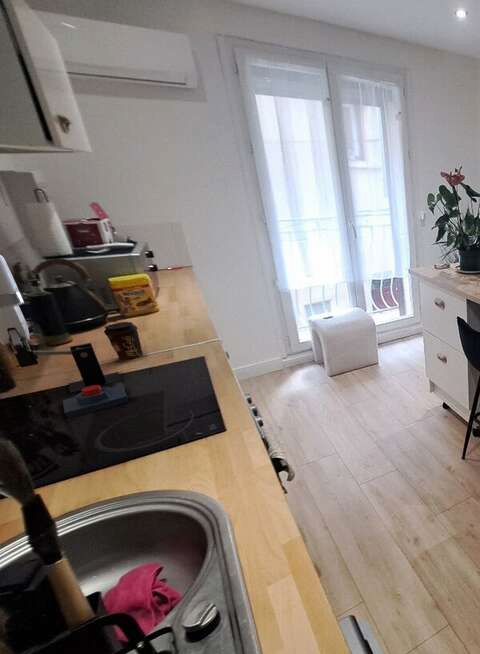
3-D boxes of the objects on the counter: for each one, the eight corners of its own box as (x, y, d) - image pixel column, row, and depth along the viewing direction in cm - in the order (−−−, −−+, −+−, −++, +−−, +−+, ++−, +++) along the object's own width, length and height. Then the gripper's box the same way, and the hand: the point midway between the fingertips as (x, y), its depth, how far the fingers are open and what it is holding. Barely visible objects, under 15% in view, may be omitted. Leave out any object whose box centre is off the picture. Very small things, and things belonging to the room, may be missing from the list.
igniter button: (84, 398, 111) (81, 392, 110) (83, 393, 113) (80, 388, 113) (102, 393, 114) (100, 387, 113) (101, 389, 116) (99, 383, 115)
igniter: (67, 420, 107) (61, 406, 106) (65, 407, 113) (59, 394, 112) (129, 402, 116) (124, 390, 114) (124, 391, 122) (119, 379, 121)
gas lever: (20, 359, 111) (20, 351, 111) (20, 354, 114) (20, 346, 114) (90, 358, 122) (91, 350, 121) (89, 353, 125) (89, 346, 124)
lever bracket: (71, 396, 119) (54, 356, 115) (69, 386, 125) (52, 348, 120) (123, 383, 127) (108, 345, 122) (119, 375, 132) (105, 338, 128)
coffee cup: (109, 362, 142) (95, 326, 137) (138, 353, 149) (126, 319, 144) (124, 366, 139) (110, 330, 134) (153, 357, 146) (141, 322, 141)
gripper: (-21, 297, 111) (9, 358, 117) (-26, 309, 100) (8, 376, 107) (22, 292, 116) (48, 351, 122) (21, 303, 105) (50, 367, 112)
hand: (29, 362), depth 114 cm, fingers closed on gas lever, 5 cm apart
